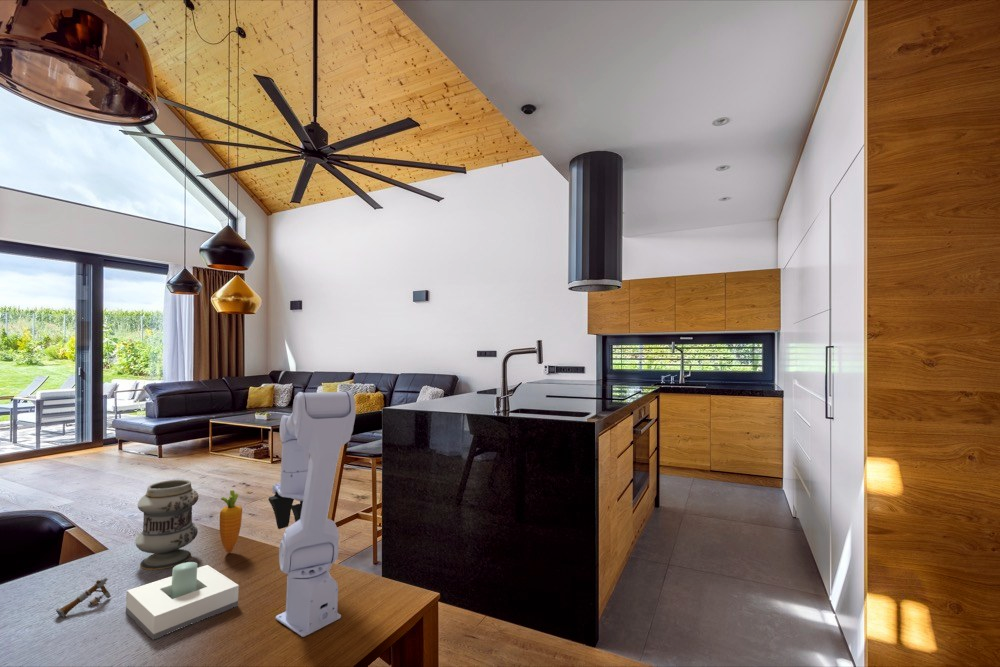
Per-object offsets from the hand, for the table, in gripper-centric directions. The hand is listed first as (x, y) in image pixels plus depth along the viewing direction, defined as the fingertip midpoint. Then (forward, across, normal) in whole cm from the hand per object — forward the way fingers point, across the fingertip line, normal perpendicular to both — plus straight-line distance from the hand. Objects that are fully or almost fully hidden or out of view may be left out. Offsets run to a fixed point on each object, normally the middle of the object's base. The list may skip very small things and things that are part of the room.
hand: (292, 531), depth 103 cm
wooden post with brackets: (+11, +20, +30) cm, 38 cm away
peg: (+9, +5, +19) cm, 22 cm away
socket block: (+10, +5, +19) cm, 22 cm away
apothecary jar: (+11, +31, +13) cm, 35 cm away
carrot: (+11, +24, +2) cm, 26 cm away
